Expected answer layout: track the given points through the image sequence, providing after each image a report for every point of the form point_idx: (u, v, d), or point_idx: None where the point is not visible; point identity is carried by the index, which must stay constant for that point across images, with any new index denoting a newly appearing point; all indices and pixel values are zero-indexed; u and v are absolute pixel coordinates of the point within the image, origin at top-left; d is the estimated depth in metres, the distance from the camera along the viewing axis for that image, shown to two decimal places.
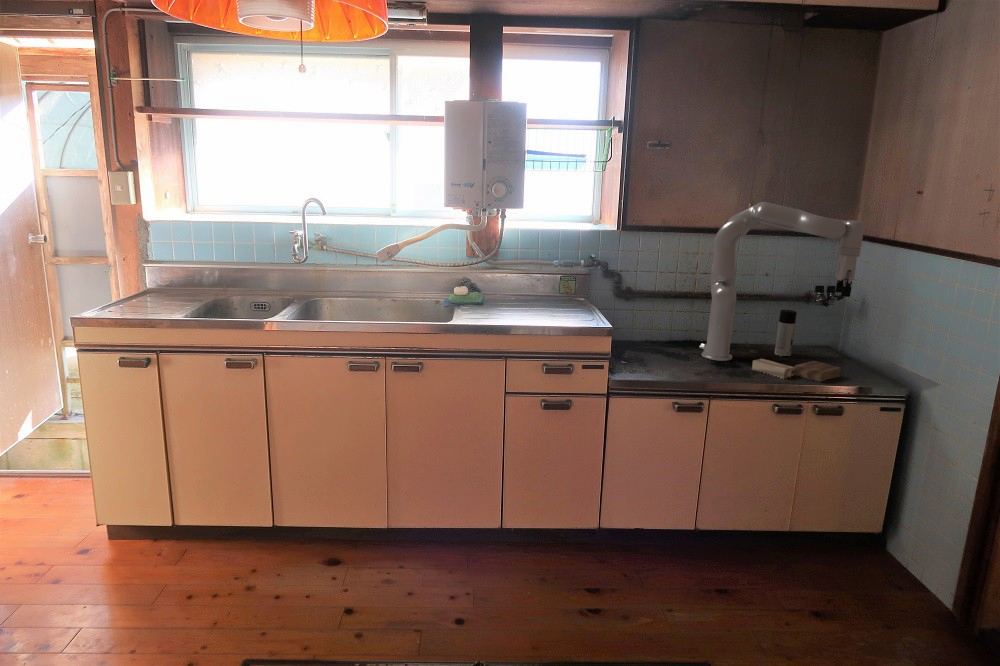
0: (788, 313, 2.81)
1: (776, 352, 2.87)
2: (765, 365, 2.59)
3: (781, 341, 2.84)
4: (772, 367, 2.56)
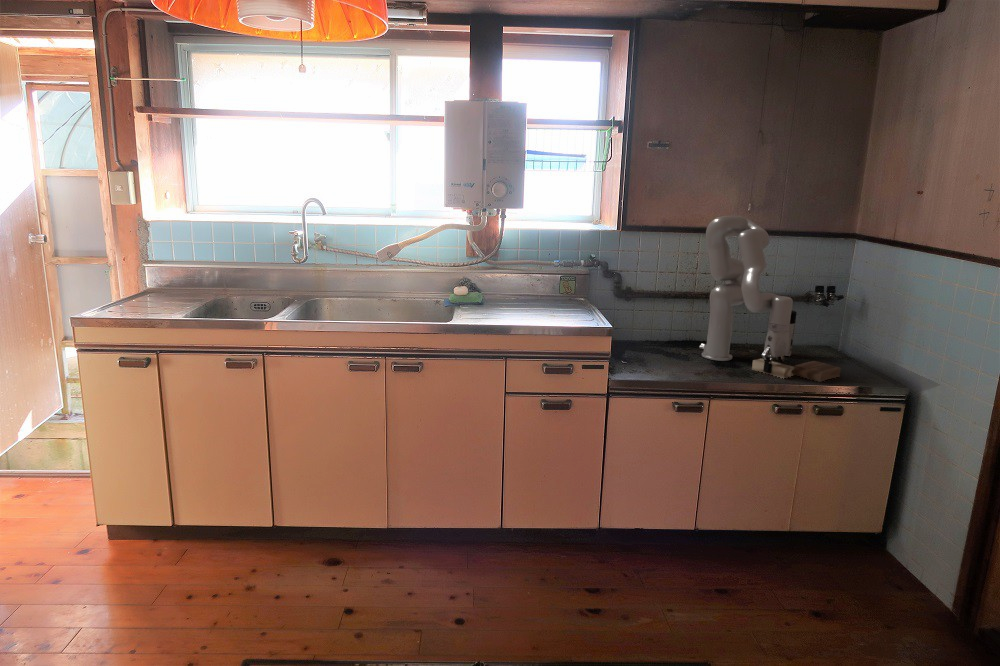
0: None
1: None
2: None
3: None
4: (772, 367, 2.56)
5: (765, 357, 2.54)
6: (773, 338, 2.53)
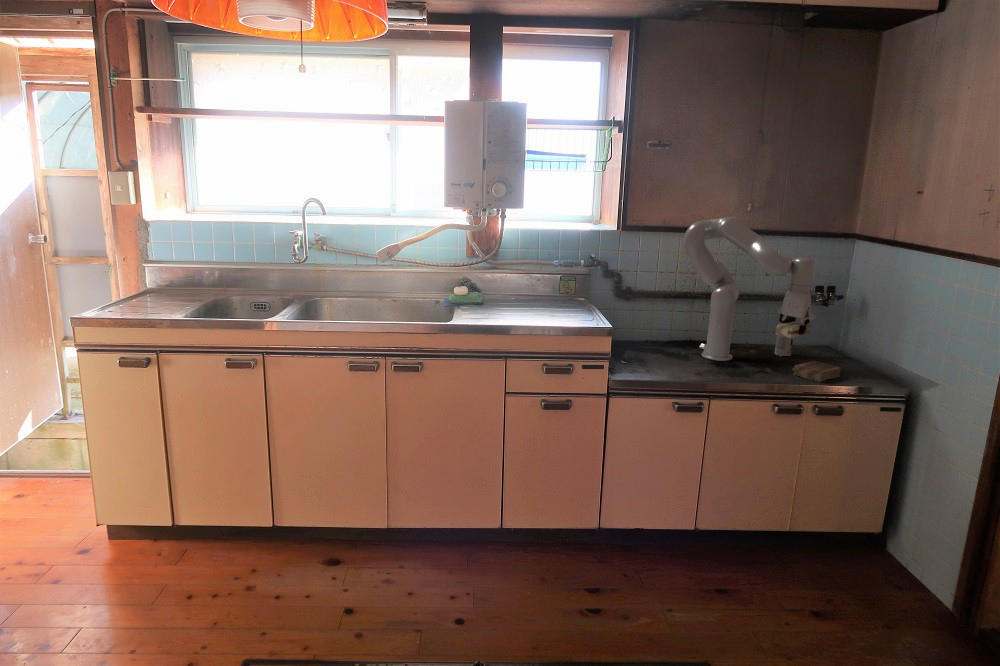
0: None
1: (776, 352, 2.87)
2: None
3: (781, 341, 2.84)
4: None
5: (778, 312, 2.68)
6: None
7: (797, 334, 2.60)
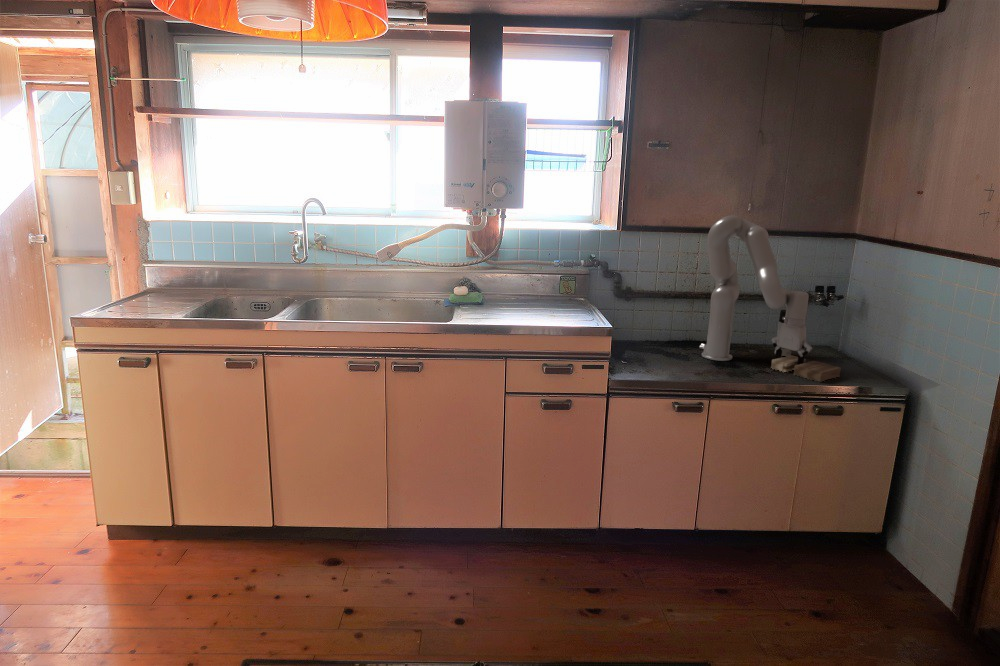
0: None
1: None
2: None
3: None
4: None
5: (772, 341, 2.72)
6: None
7: None
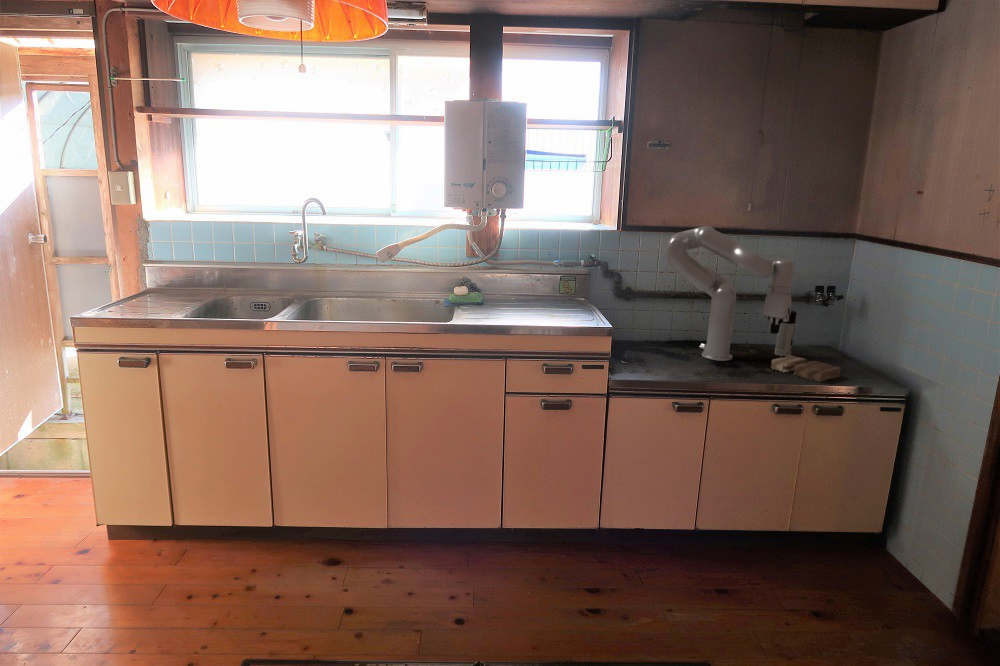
0: None
1: (776, 352, 2.87)
2: None
3: (781, 341, 2.84)
4: None
5: (766, 317, 2.73)
6: None
7: None
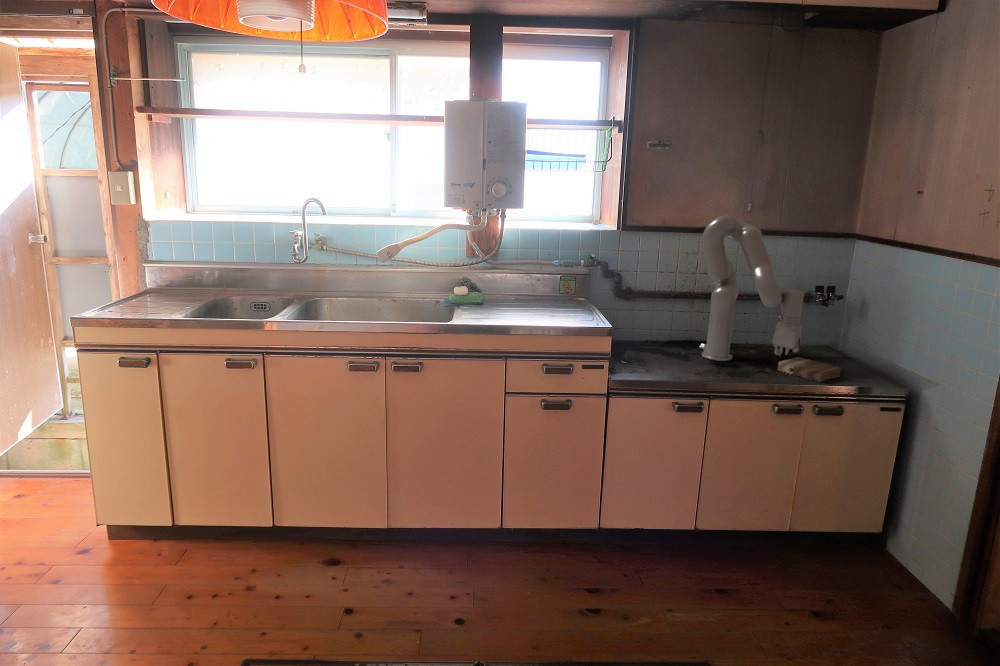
0: None
1: (776, 352, 2.87)
2: None
3: None
4: None
5: (776, 347, 2.71)
6: None
7: None
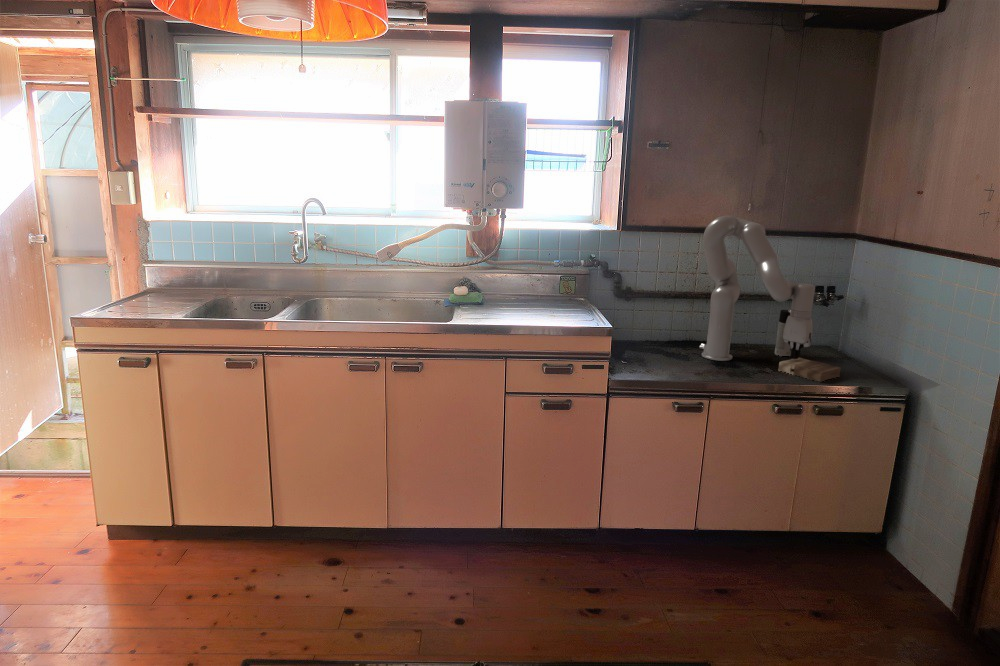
0: (788, 313, 2.81)
1: (776, 352, 2.87)
2: None
3: (781, 341, 2.84)
4: None
5: None
6: None
7: None
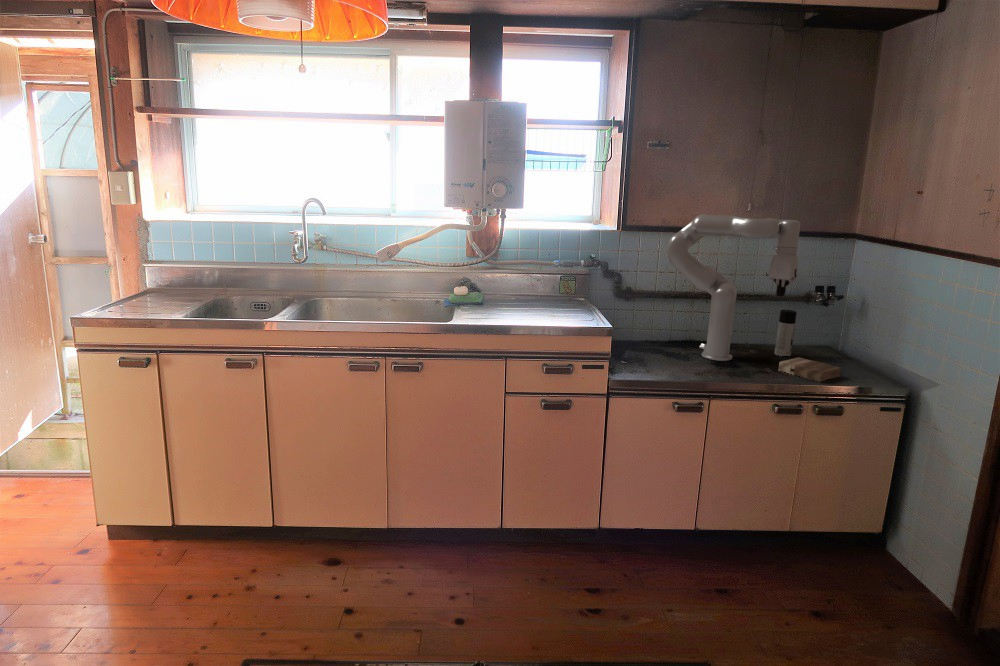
0: (788, 313, 2.81)
1: (776, 352, 2.87)
2: None
3: (781, 341, 2.84)
4: None
5: (772, 280, 2.68)
6: None
7: None
